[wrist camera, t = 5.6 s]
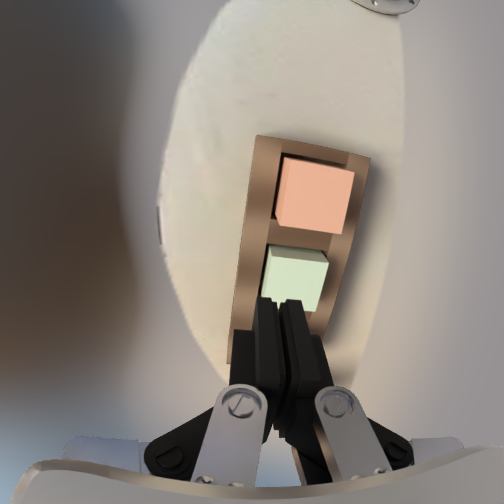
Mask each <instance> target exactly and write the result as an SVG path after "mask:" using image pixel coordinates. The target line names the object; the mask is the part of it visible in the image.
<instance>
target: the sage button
mask: <svg viewBox="0 0 504 504" xmlns="http://www.w3.org/2000/svg"><path fill="white" fill-rule="evenodd" d="M328 265H329V262H328V261H327V259H326V258H325V256H324V255H323V253H322V252H321V250H316V249H308V248H300V247H293V246H285V245H277V244H269V243H267V247H266V252H265V258H264V264H263V270H262V276H261V282H260V287H261V297H270V298H272V302H277V307H278V309H279V306H280V303H281V302H285V301H286V299H295V300H301V301H302V304H303V308H304V311H313V312H315V311H316V308H317V305H318V301H319V298H320V294H321V291H322V287H323V283H324V280H325V276H326V272H327V269H328Z"/></svg>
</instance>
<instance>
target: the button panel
mask: <svg viewBox="0 0 504 504" xmlns="http://www.w3.org/2000/svg"><path fill="white" fill-rule="evenodd" d="M283 157H289V158H294V159H300V160H306V161H311V162H316V163H321V164H326V165H331V166H336V167H339V168H342V169H346V170H349V171H352V172H355V173H354V178H353V183H352V188H351V193H350V198H349V202H348V207H347V212H346V216H345V220H344V225H343V229H342V233H341V234H335V233H329V232H322V231H315V230H309V229H302V228H295V227H287V226H280V225H279V223H278V220H277V217H276V215H275V212H274V208H275V202H276V196H277V190H278V184H279V177H280V171H281V165H282V159H283ZM370 159H371V158H368V157H365V156H361V155H357V154H353V153H349V152H345V151H340V150H336V149H332V148H327V147H322V146H318V145H313V144H308V143H302V142H297V141H291V140H286V139H280V138H274V137H267V136H260V135H257V136H256V138H255V145H254V152H253V159H252V165H251V172H250V180H249V187H248V194H247V201H246V208H245V215H244V223H243V230H242V237H241V245H240V252H239V260H238V267H237V275H236V283H235V291H234V298H233V306H232V314H231V322H230V330H229V338H228V350H227V363H226V364H231V353H232V342H233V332H234V329H242V330H252V324H253V317H254V310H255V304H256V298H257V296H258V297H261V287H260V282H261V276H262V270H263V264H264V258H265V252H266V247H267V243H269V244H277V245H285V246H293V247H300V248H308V249H316V250H321V252H322V253H323V255H324V256H325V258H326V259H327V261H328V262H329V265H328V269H327V272H326V276H325V280H324V283H323V287H322V291H321V294H320V298H319V301H318V305H317V308H316V311H315V312H313V311H304V312H305V316H306V320H307V324H308V327H309V331H310V334H318V335H320V338H321V341H322V339H323V336H324V333H325V330H326V327H327V325H328V322H329V319H330V316H331V313H332V309H333V306H334V303H335V300H336V297H337V294H338V290H339V287H340V284H341V280H342V277H343V274H344V270H345V267H346V263H347V259H348V256H349V252H350V248H351V245H352V241H353V237H354V233H355V229H356V225H357V221H358V216H359V212H360V208H361V203H362V199H363V194H364V190H365V185H366V180H367V175H368V170H369V164H370ZM278 311H279V309H278Z"/></svg>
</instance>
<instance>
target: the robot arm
mask: <svg viewBox="0 0 504 504" xmlns="http://www.w3.org/2000/svg"><path fill="white" fill-rule="evenodd" d="M352 1H354V2H356V3H358V4H360V5H362V6H364V7H366V8H369V9H371V10H373V11H377V12H381V13H385V14H392V15H393V14H403V13H407V12H409V11H410V10H412V9H414V8H415V7H416V6H417V5H418V3H419V1H420V0H352ZM272 424H273V427H274V430H279V438H285V441H286V442H287V443H289V444H290V445H291V446H292V447H291V448H292V454H293V458H294V461H295V465H296V468H297V472H298V475H299V479H300V482H301V486H292V487H255V481H256V475H257V470H258V464H259V458H260V452H261V446H262V444H263V443H265V442H266V441H267V438H268V435H269V433H270V430H271V427H272ZM9 504H504V447H502V446H499V445H476V446H471V447H467V448H464V446H463V444H462V443H461V441H459V440H458V439H457V438H454V437H445V438H425V439H411V440H410V441H407V440H406V439H404V438H403V437H401V436H399V435H398V434H396V433H394V432H392V431H390V430H389V429H387V428H385V427H383V426H382V425H380V424H378V423H376V422H375V421H373V420H371V419H369V418H368V417H367V416H366V414H365V412H364V410H363V408H362V406H361V405H360V402H359V400H358V399H357V397H356V396H355V395H354V394H353V393H352V392H351V391H350V390H348V389H345V388H343V387H338V386H334V384H333V380H332V376H331V373H330V369H329V366H328V362H327V358H326V355H325V351H324V348H323V344H322V341H321V338H320V335H318V334H310V331H309V327H308V324H307V320H306V316H305V312H304V308H303V304H302V301H301V300H295V299H286V301H285V302H281V303H280V306H279V311H278V307H277V302H272V298H270V297H258V296H257V298H256V304H255V310H254V317H253V324H252V330H242V329H234V332H233V342H232V353H231V365H230V379H229V386H228V387H226V388H224V389H223V390H222V391H221V392H220V393H219V395H218V397H217V399H216V402H215V405H214V407H212V408H210V409H209V410H207V411H205V412H204V413H202V414H200V415H199V416H197V417H195V418H193V419H192V420H190V421H188V422H186V423H185V424H183V425H181V426H179V427H177V428H176V429H174V430H172V431H170V432H168V433H166V434H165V435H163V436H160V437H159V438H157V439H155V440H153V441H152V442H139V441H138V440H132V439H131V440H130V439H114V438H103V437H94V436H84V435H76V436H73V437H71V438H69V439H68V440H67V441H66V443H65V445H64V448H63V455H62V459H50V460H43V461H39V462H36V463H34V464H33V465H32V466H30V467H29V468H28V469H27V470H26V471H25V473H24V474H23V476H22V477H21V479H20V480H19V482H18V484H17V486H16V488H15V491H14V493H13V495H12V498H11V500H10V503H9Z"/></svg>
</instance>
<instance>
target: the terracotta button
mask: <svg viewBox="0 0 504 504" xmlns="http://www.w3.org/2000/svg"><path fill="white" fill-rule="evenodd" d="M354 173H355V172H352V171H349V170H346V169H342V168H339V167H336V166H331V165H326V164H321V163H316V162H311V161H306V160H300V159H294V158H289V157H283V159H282V165H281V171H280V177H279V184H278V190H277V196H276V202H275V208H274V212H275V215H276V217H277V220H278V223H279V225H280V226H287V227H295V228H302V229H309V230H315V231H322V232H329V233H335V234H341V233H342V229H343V225H344V220H345V216H346V212H347V207H348V202H349V198H350V193H351V188H352V183H353V178H354Z"/></svg>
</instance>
